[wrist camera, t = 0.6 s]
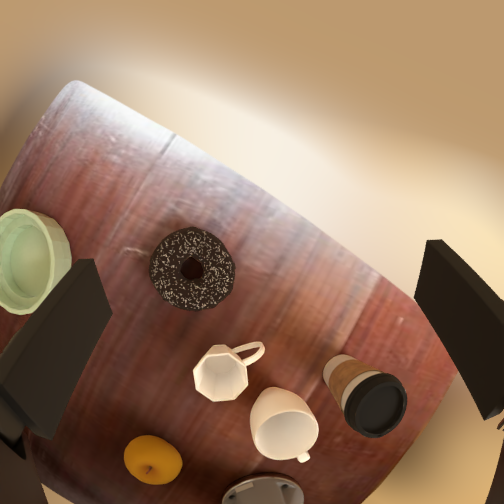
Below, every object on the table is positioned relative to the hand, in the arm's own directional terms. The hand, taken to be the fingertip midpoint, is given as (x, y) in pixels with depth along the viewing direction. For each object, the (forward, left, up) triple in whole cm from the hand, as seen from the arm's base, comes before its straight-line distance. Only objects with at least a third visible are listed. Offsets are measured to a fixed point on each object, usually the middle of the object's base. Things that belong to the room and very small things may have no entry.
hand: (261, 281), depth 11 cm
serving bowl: (+7, +31, -32) cm, 46 cm away
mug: (-24, -2, -32) cm, 40 cm away
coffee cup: (-21, -13, -32) cm, 40 cm away
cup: (-13, +3, -32) cm, 35 cm away
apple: (-27, +19, -32) cm, 46 cm away
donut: (0, +5, -32) cm, 33 cm away
